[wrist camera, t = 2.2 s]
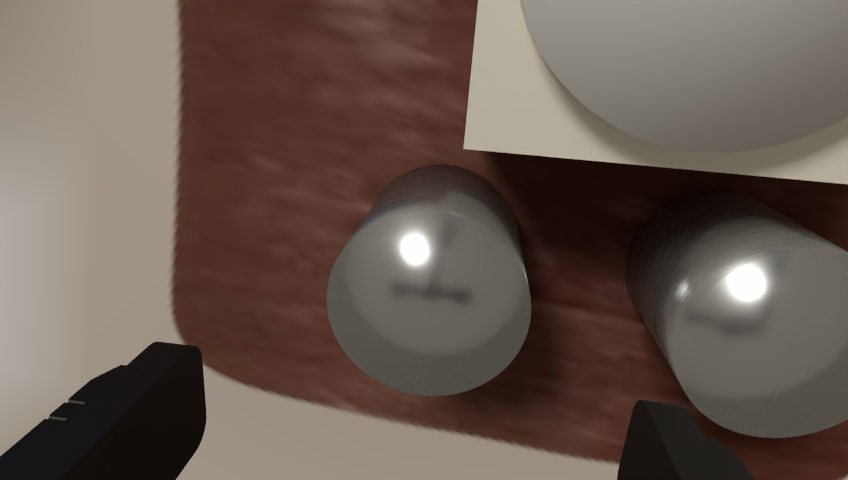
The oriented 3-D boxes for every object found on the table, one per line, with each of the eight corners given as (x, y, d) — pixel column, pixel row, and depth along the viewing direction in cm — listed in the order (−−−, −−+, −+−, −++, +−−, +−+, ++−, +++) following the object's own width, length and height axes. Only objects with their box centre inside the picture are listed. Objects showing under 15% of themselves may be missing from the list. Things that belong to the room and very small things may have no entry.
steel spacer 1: (369, 157, 17) (327, 201, 13) (528, 172, 17) (546, 223, 12) (364, 299, 19) (325, 383, 14) (508, 315, 19) (516, 406, 14)
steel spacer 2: (643, 183, 17) (705, 239, 12) (813, 199, 16) (947, 263, 12) (611, 326, 18) (655, 424, 14) (764, 344, 18) (863, 450, 13)
